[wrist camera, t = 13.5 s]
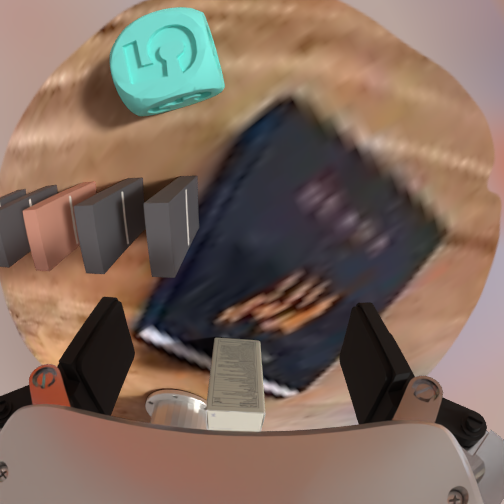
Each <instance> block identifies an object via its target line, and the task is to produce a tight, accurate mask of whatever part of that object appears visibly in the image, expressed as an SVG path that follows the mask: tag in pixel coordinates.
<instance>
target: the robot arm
mask: <svg viewBox="0 0 504 504" xmlns="http://www.w3.org/2000/svg"><path fill="white" fill-rule="evenodd" d="M134 355H135V351H134V347H133V343H132V340H131V336H130V333H129V329H128V326H127V322H126V318H125V314H124V311H123V307H122V303H121V302H120V301H118V299H117V298H114V297H103V298H102V299H101V300H100V302H99V303H98V304H97V306H96V307H95V309H94V310H93V311H92V313H91V314H90V316H89V317H88V318H87V320H86V321H85V323H84V324H83V326H82V327H81V328H80V330H79V331H78V333H77V334H76V336H75V337H74V339H73V340H72V342H71V343H70V345H69V346H68V348H67V349H66V351H65V352H64V354H63V355H62V357H61V359H60V360H59V365H58V366H57V367H56V366H54V365H52V364H45V365H41V366H39V367H37V368H36V369H35V370H34V371H33V372H32V373H31V375H30V377H29V385H28V386H25V387H23V388H20V389H18V390H15V391H12V392H10V393H8V394H5V395H3V396H0V504H500V503H501V502H502V500H503V499H504V439H502V438H501V437H500V436H499V435H497V434H496V433H494V432H493V431H492V430H491V431H490V432H488V431H487V430H486V429H487V426H486V422H485V420H484V418H483V417H482V416H481V415H480V414H479V413H477V412H475V411H473V410H470V409H468V408H466V407H463V406H461V405H459V404H456V403H454V402H452V401H450V400H447V399H445V398H443V390H442V387H441V386H440V384H439V383H438V382H437V381H436V380H435V379H433V378H431V377H428V376H417V377H415V376H414V374H413V372H412V370H411V369H410V367H409V365H408V363H407V361H406V359H405V357H404V356H403V354H402V352H401V350H400V348H399V346H398V345H397V343H396V341H395V339H394V338H393V336H392V335H391V333H389V331H388V329H387V328H386V326H385V324H384V323H383V321H382V319H381V317H380V316H379V314H378V312H377V311H376V309H375V307H374V305H373V304H372V303H358V304H357V305H356V307H353V308H352V311H351V315H350V319H349V323H348V327H347V331H346V335H345V338H344V342H343V346H342V349H341V353H340V364H341V368H342V371H343V374H344V377H345V380H346V383H347V387H348V390H349V393H350V396H351V400H352V403H353V406H354V410H355V413H356V417H357V420H358V423H359V425H352V426H343V427H333V428H323V429H312V430H296V431H263V432H251V431H220V430H207V424H206V406H207V401H206V400H204V399H203V398H201V397H199V396H197V395H195V394H192V393H189V392H185V391H180V390H160V391H156V392H154V393H152V394H150V395H149V396H148V398H147V400H146V404H145V406H146V410H147V412H148V414H149V415H150V416H151V420H150V423H146V422H140V421H134V420H129V419H124V418H119V417H114V416H111V414H112V411H113V408H114V406H115V403H116V401H117V398H118V395H119V393H120V390H121V388H122V385H123V383H124V380H125V378H126V376H127V373H128V371H129V368H130V366H131V363H132V361H133V359H134Z"/></svg>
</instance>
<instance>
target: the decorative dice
mask: <svg viewBox="0 0 504 504" xmlns="http://www.w3.org/2000/svg"><path fill="white" fill-rule="evenodd" d="M110 70H111V75H112V78H113V82H114V85H115V87H116V90H117V92H118V94H119V96H120V98H121V99H122V101H123V103H124V104H125V105H126V107H127V108H128V109H129V110H130V111H131V112H132V113H134V114H136V115H138V116H150V115H155V114H159V113H164V112H167V111H171V110H175V109H178V108H182V107H185V106H188V105H192V104H195V103H198V102H201V101H203V100H206V99H209V98H211V97H213V96H216V95H218V94H219V93H221V92H222V90H223V89H224V87H225V84H224V79H223V75H222V70H221V66H220V63H219V59H218V55H217V52H216V48H215V45H214V41H213V38H212V35H211V32H210V29H209V26H208V23H207V20H206V18H205V15H204V13H203V12H200V11H198V10H195V9H192V8H183V7H179V8H169V9H163V10H159V11H156V12H153V13H150V14H147V15H145V16H143V17H141V18H139V19H137V20H135V21H134V22H132V23H131V24H129V25H128V26H127V27H126V28H125V29H124V30H123V31H122V32H121V34H120V35H119V36H118V38H117V39H116V41H115V43H114V45H113V47H112V49H111V52H110Z"/></svg>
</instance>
